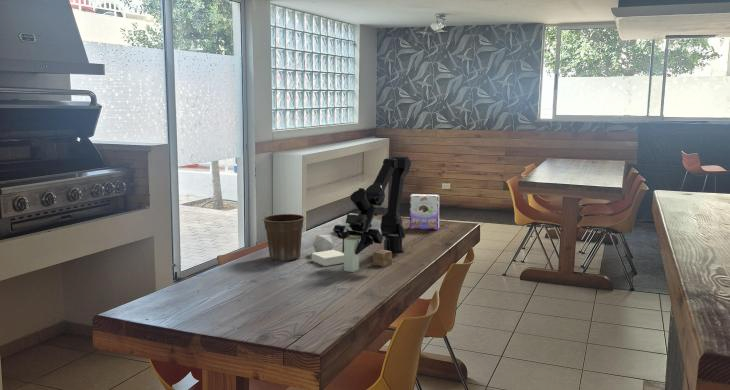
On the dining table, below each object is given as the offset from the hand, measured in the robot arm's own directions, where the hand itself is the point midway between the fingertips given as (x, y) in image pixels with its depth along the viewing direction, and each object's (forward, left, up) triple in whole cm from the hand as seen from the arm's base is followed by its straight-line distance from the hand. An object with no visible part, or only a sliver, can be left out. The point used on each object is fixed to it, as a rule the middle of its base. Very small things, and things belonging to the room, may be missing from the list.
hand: (349, 253), depth 236 cm
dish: (-31, -62, -7) cm, 70 cm away
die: (0, -28, -7) cm, 29 cm away
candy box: (-63, -58, -7) cm, 86 cm away
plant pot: (+16, -29, -7) cm, 34 cm away
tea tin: (-1, -1, -7) cm, 7 cm away
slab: (+2, -16, -7) cm, 17 cm away
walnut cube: (-15, -4, -7) cm, 17 cm away
